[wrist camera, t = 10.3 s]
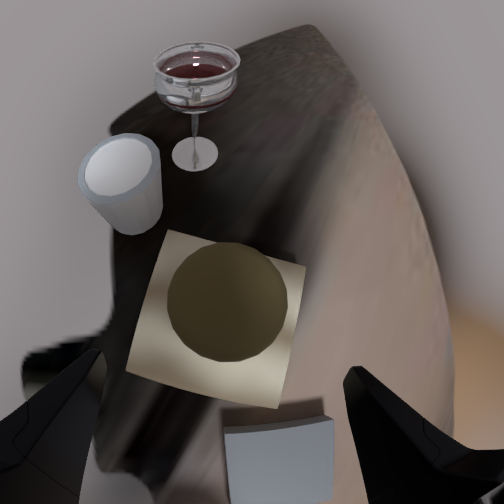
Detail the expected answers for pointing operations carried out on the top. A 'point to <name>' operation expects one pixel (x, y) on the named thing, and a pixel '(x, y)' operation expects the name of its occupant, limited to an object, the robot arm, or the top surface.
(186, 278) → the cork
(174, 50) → the wineglass
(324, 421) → the blue grey block
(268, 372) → the maple slab
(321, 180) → the top surface
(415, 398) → the top surface
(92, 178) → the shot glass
